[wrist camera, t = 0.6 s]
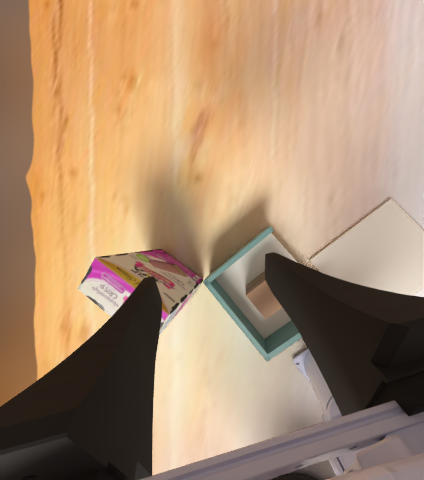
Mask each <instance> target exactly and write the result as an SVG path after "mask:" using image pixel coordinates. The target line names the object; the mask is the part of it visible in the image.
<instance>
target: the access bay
mask: <svg viewBox="0 0 424 480" xmlns="http://www.w3.org/2000/svg"><path fill="white" fill-rule="evenodd" d="M273 231H274V230H273V229H272V228H271V227H267V228H265V229H264V230H262V231H261V232H260V233H259V234H258V235H256V236H255V237H254V238H253V239H252V240H250V241H249V242H248V243H247V244H246V245H244V246H243V247H242V248H241V249H239V250H238V251H237V252H236V253H235V254H233V255H232V256H231V257H230V258H229V259H227V260H226V261H225V262H224V263H223V264H221V265H220V266H219V267H218V268H217V269H215V270H214V271H213V272H212V273H211V274H209V276H208V277H207V278H206V279H205V280H204V281H203V283H204V284H205V286H206V287H207V288H208V289H209V290H210V292H211V293H212V294H213V295H214V297H215V298H216V299H217V300H218V302H219V303H220V304H221V305H222V307H223V308H224V309H225V310H226V311H227V313H228V314H229V315H230V316H231V318H232V319H233V320H234V321H235V323H236V324H237V325H238V326H239V328H240V329H241V330H242V331H243V332H244V334H245V335H246V336H247V337H248V339H249V340H250V341H251V342H252V344H253V345H254V346H255V347H256V348H257V350H258V351H259V352H260V353H261V355H262V356H263V357H264V358H265V360H266V361H268V360H270V359H271V358H273V357H274V356H276V355H277V354H279V353H280V352H282V351H283V350H285V349H286V348H288V347H289V346H290V345H292V344H293V343H295V342H296V341H298V340H299V339H301V338H302V337H301V335H300V333H299V331H298V330H297V328H296V326H295V325H294V323H293V322H292V320H291V319H290V317H289V316H288V315H287V313H286V312H285V310H284V309H283V307H282V308H281V309H280V310H278V311H277V312H276V313H274V314H273V315H271V316H270V317H269V318H267V319H265V318H264V317H263V315H262V314H261V313H260V312H259V311H258V309H257V308H256V307H255V306H254V305H253V303H252V302H251V301H250V300H249V299H248V297H247V296H246V289H245V286H246V285H247V284H248V283H250V282H251V281H252V280H254V279H255V278H256V277H257V276H259V275H260V274H261V273H263V272H264V271H265V254H267V253H272V252H275V253H278V254H280V255H282V256H284V257H287V258H289V259H291V260H293V261H295V262H297V261H296V260H295V259H294V258H293V257H292V256H291V254H290V253H289V252H288V251H287V250H286V249H285V248H284V247H283V245H282V244H281V243H280V242H279V241H278V240H277V239H276V238H275V236H274V235H273V234H272V233H271V232H273ZM297 263H298V262H297Z"/></svg>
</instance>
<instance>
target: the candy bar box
mask: <svg viewBox="0 0 424 480" xmlns="http://www.w3.org/2000/svg"><path fill="white" fill-rule="evenodd" d="M151 276H154V277H155V280H156V283H157V286H158V289H159V292H160V295H161V298H162V319H161V325H160V332H159V334H160V333H161V332H162V331H163V330H164V329H165V328H166V327H167V325H168V324H169V323H170V322H171V321H172V319H173V318H174V317H175V316H176V315H177V314H178V313H179V311H180V310H181V309H182V308H183V307H184V306H185V305H186V303H187V302H188V301H189V300H190V299H191V297H192V296H193V294H194V293H195V292H196V290H197V289H198V287H199V286H200V284H201V283H202V281H203V279H202V278H201V277H200V276H198V275H197V274H195V273H194V272H193V271H191V270H190V269H188V268H187V267H185V266H184V265H183V264H181V263H180V262H178V261H177V260H176V259H174V258H173V257H171V256H170V255H169V254H167V253H166V252H164V251H163V250H162V249H156V250H149V251H140V252H134V253H125V254H117V255H110V256H101V257H95V259H94V261H93V262H92V264H91V266H90V268H89V270H88V272H87V274H86V276H85V277H84V279H83V280H82V282H81V284H80V286H79V287H78V290H80V291H81V292H82V293H83V294H85V295H86V296H87V297H88V298H89V299H91V300H92V301H93V302H94V303H95V304H97V305H98V306H99V307H100V308H101V309H102V310H104V311H105V312H106V313H107V314H108V315H110V316H111V317H112V316H113V314H114V313H115V312H116V311H117V310H118V309H119V308H120V307H121V305H122V304H123V303H124V302H125V301H126V300H127V298H128V297H129V296H130V295H131V293H132V292H133V291H134V290H135V288H136V287H137V286H138V285H139V283H140V282H141V281H142V280H143V278H146V277H151Z"/></svg>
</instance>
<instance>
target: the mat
mask: <svg viewBox="0 0 424 480" xmlns="http://www.w3.org/2000/svg"><path fill="white" fill-rule="evenodd" d="M309 261H310V262H311V263H312V264H313V265H314V266H315V267H316V268H317V270H318V271H319V272H321V273H324V274H327V275H329V276H332V277H335V278H338V279H341V280H345V281H348V282H351V283H355V284H359V285H363V286H367V287H371V288H375V289H380V290H384V291H389V292H394V293H399V294H405V295H411V296H412V295H414V294H415V293H417V292H418V291H420V290H421V289H423V288H424V230H423V229H422V228H421V227H420V226H419V225H418V224H417V223H416V222H415V221H414V220H413V219H412V218H411V217H410V216H409V215H408V214H407V213H406V212H405V211H404V210H403V209H402V208H401V207H400V206H399V205H398V204H397V203H396V202H395V201H394V200H393V199H389V200H388V201H386V202H385V203H384V204H382V205H381V206H380V207H378V208H377V209H376V210H375V211H373V212H372V213H371V214H369V215H368V216H367V217H365V218H364V219H363V220H361V221H360V222H359V223H357V224H356V225H355V226H353V227H352V228H351V229H349V230H348V231H347V232H345V233H344V234H343V235H342V236H340V237H339V238H338V239H336V240H335V241H334V242H332V243H331V244H330V245H328V246H327V247H326V248H324V249H323V250H322V251H320V252H319V253H318V254H316V255H315V256H314V257H312V258H311V259H310V260H309Z"/></svg>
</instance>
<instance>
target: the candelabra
mask: <svg viewBox="0 0 424 480" xmlns="http://www.w3.org/2000/svg"><path fill="white" fill-rule="evenodd" d="M275 480H315V479H313V478H311V477H309V476H302V475H297V474H291V475H284V476H280V477H279V478H277V479H275Z"/></svg>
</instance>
